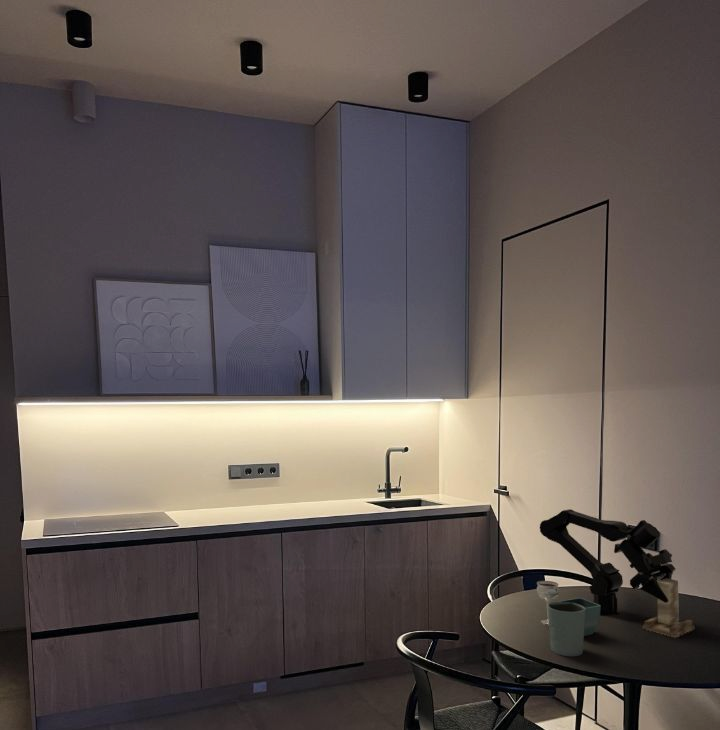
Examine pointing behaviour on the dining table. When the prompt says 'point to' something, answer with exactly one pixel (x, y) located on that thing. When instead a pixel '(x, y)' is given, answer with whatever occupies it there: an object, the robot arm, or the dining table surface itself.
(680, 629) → the wooden tray
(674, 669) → the dining table surface
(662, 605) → the wooden block
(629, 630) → the dining table surface
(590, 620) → the flower pot
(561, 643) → the green cup
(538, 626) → the dining table surface
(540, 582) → the wineglass
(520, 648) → the dining table surface
